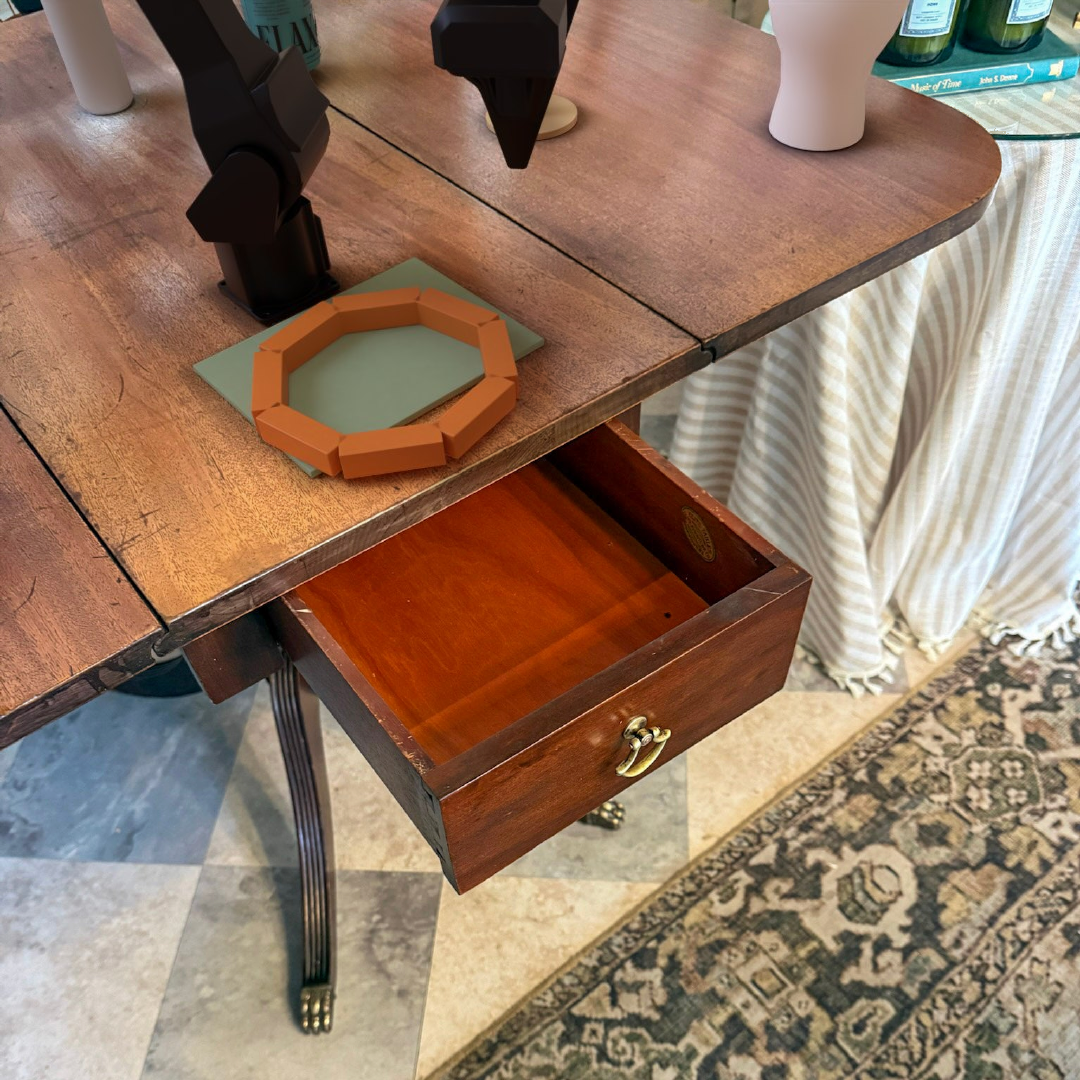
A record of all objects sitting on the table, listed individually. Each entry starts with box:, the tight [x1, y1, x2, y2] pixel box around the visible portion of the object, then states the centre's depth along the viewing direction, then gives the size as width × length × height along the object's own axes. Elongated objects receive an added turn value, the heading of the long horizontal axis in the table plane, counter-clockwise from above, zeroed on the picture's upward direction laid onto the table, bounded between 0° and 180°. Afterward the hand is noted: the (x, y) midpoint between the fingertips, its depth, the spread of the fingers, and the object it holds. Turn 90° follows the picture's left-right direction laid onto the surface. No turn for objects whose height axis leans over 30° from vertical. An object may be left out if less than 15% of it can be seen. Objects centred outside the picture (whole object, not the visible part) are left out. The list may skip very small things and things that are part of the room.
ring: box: [251, 286, 521, 480], centre depth 62 cm, size 16×16×2 cm
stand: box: [484, 94, 578, 141], centre depth 86 cm, size 8×8×4 cm
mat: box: [192, 256, 545, 479], centre depth 65 cm, size 18×14×1 cm
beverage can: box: [40, 0, 134, 116], centre depth 89 cm, size 5×5×12 cm
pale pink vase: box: [767, 0, 911, 152], centre depth 78 cm, size 11×11×15 cm
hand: (529, 130), depth 60 cm, fingers open, 9 cm apart
